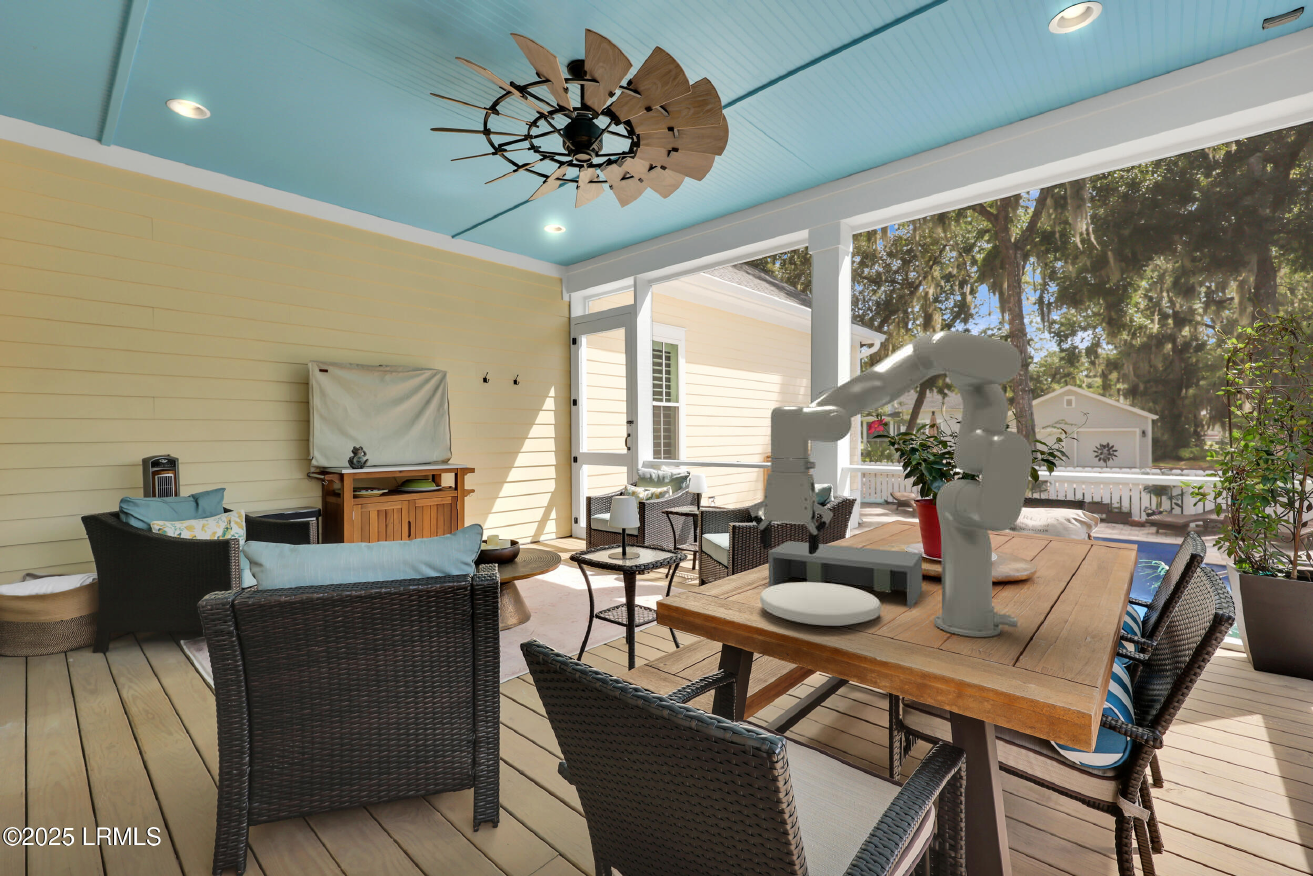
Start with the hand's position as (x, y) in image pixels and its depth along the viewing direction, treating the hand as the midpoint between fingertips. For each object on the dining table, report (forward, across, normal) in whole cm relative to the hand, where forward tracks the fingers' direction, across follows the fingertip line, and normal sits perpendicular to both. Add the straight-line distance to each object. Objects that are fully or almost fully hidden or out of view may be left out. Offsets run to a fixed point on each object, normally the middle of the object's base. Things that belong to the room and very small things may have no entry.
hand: (789, 550), depth 119 cm
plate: (+19, 0, -19) cm, 27 cm away
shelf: (+18, 0, -42) cm, 46 cm away
